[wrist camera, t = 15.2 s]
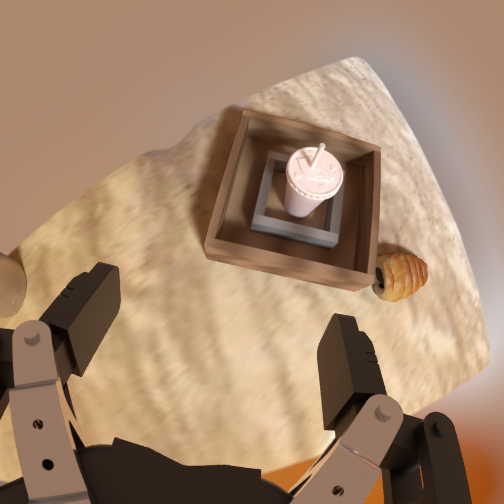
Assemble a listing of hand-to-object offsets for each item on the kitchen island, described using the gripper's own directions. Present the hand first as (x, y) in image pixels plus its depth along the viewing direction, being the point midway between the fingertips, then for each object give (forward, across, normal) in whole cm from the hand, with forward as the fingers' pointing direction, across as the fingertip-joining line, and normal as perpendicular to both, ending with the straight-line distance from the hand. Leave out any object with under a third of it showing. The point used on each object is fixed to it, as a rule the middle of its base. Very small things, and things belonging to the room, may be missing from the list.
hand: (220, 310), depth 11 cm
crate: (+32, -7, +7) cm, 33 cm away
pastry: (+28, -23, +12) cm, 37 cm away
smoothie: (+31, -7, +6) cm, 33 cm away
